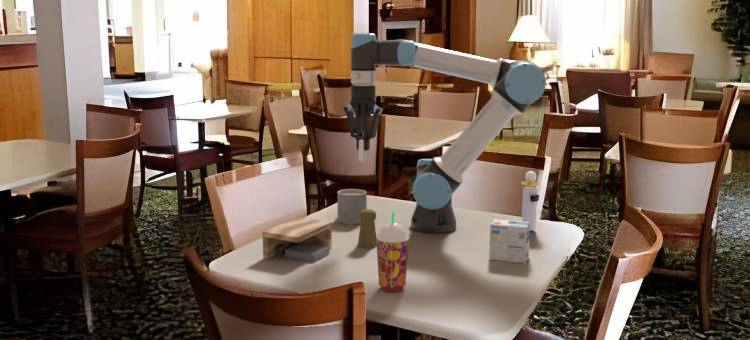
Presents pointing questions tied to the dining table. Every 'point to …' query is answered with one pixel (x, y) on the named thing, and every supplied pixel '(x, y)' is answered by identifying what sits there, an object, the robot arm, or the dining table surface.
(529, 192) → the perfume bottle
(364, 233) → the cork
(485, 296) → the dining table surface
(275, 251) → the oak shelf
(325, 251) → the slate board
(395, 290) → the smoothie
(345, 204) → the coffee mug
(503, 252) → the light bulb box
